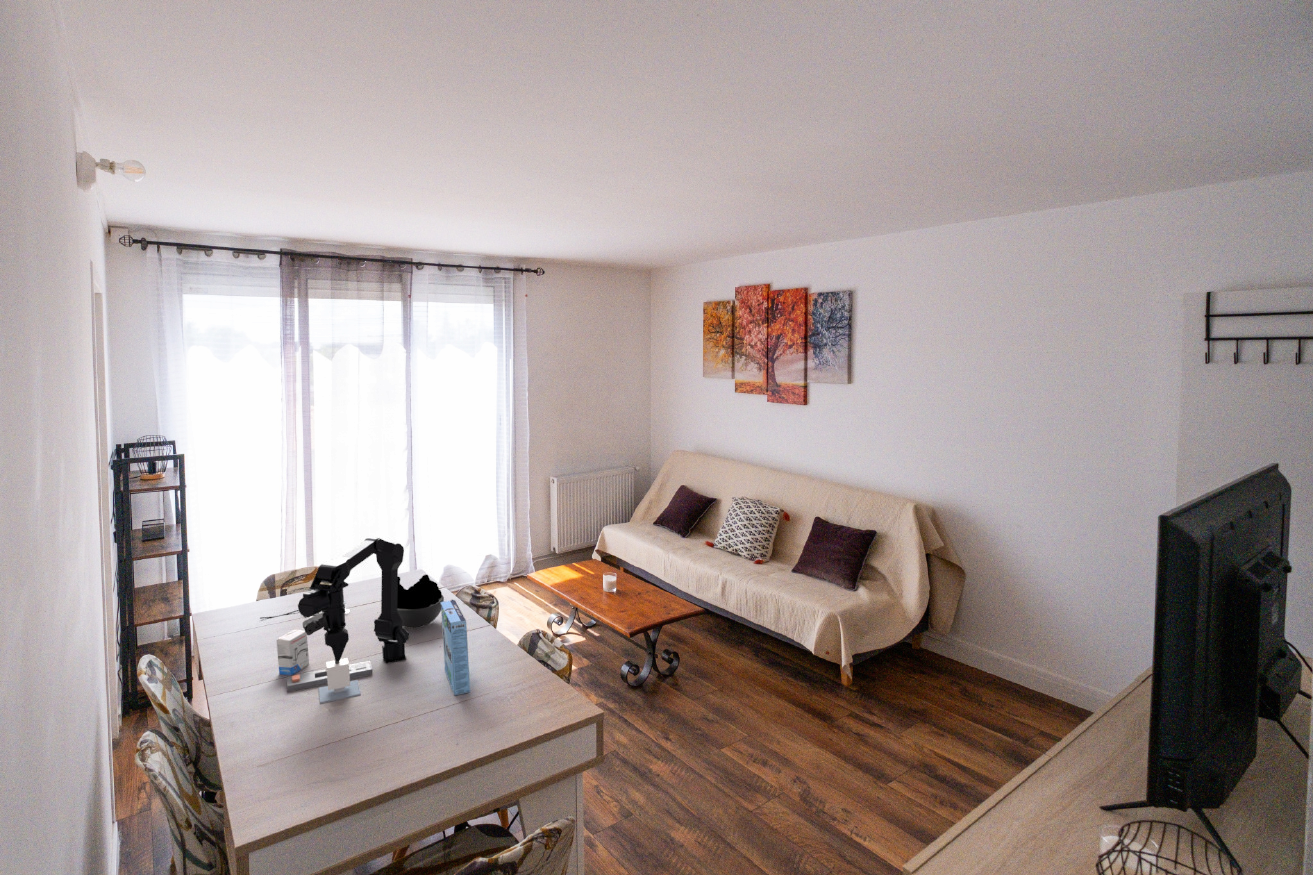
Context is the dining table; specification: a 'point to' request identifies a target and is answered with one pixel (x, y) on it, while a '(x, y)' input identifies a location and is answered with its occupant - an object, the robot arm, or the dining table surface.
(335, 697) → the mat
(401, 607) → the coal bowl
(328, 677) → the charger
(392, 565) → the robot arm
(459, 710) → the dining table surface
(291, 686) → the power strip
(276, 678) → the dining table surface
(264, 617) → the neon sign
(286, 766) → the dining table surface
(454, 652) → the light blue carton
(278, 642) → the ink box
